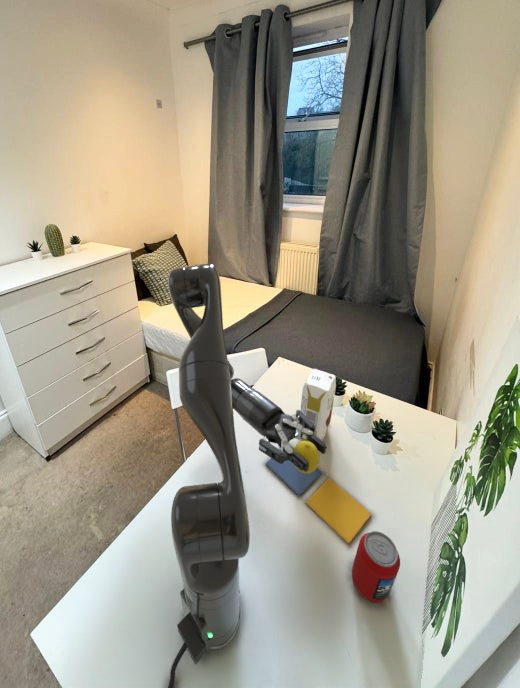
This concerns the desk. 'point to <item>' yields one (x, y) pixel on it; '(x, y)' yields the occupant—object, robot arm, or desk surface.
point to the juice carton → (319, 400)
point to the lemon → (308, 455)
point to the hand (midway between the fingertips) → (316, 458)
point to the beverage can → (375, 566)
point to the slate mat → (293, 475)
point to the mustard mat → (339, 510)
